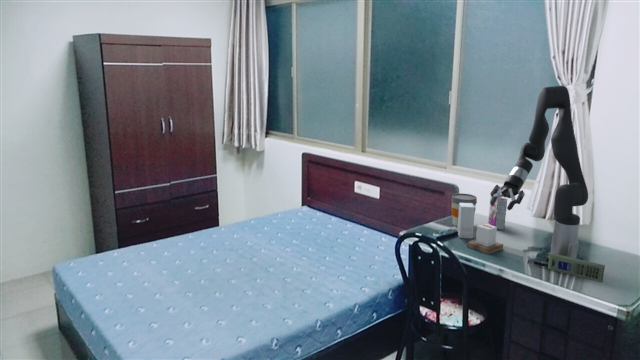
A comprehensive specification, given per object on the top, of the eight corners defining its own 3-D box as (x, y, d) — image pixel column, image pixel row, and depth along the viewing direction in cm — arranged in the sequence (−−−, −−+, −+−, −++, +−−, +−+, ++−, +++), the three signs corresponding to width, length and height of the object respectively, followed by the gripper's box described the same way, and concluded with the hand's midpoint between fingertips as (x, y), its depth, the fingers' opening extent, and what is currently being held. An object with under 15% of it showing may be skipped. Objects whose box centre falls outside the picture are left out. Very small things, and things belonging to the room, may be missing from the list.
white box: (495, 243, 216) (497, 226, 214) (487, 246, 212) (489, 228, 210) (483, 239, 220) (485, 222, 218) (475, 242, 217) (477, 225, 215)
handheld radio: (601, 283, 183) (532, 266, 197) (602, 280, 185) (534, 264, 200) (604, 266, 181) (534, 251, 196) (605, 264, 184) (536, 249, 198)
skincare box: (472, 239, 227) (475, 207, 223) (458, 238, 228) (461, 206, 224) (470, 233, 235) (473, 202, 231) (456, 232, 236) (459, 201, 232)
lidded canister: (458, 219, 256) (461, 192, 253) (479, 225, 247) (482, 197, 243) (444, 223, 248) (446, 195, 245) (465, 230, 239) (467, 201, 235)
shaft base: (502, 248, 216) (504, 231, 214) (488, 254, 209) (490, 236, 207) (481, 241, 224) (483, 225, 222) (467, 246, 217) (468, 229, 216)
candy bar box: (487, 222, 251) (490, 192, 247) (497, 222, 251) (500, 192, 247) (494, 229, 240) (497, 198, 236) (504, 230, 240) (508, 198, 236)
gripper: (499, 171, 225) (483, 198, 221) (528, 177, 214) (511, 206, 210) (504, 180, 229) (488, 207, 225) (533, 187, 218) (516, 215, 214)
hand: (499, 207), depth 217 cm, fingers open, 8 cm apart
